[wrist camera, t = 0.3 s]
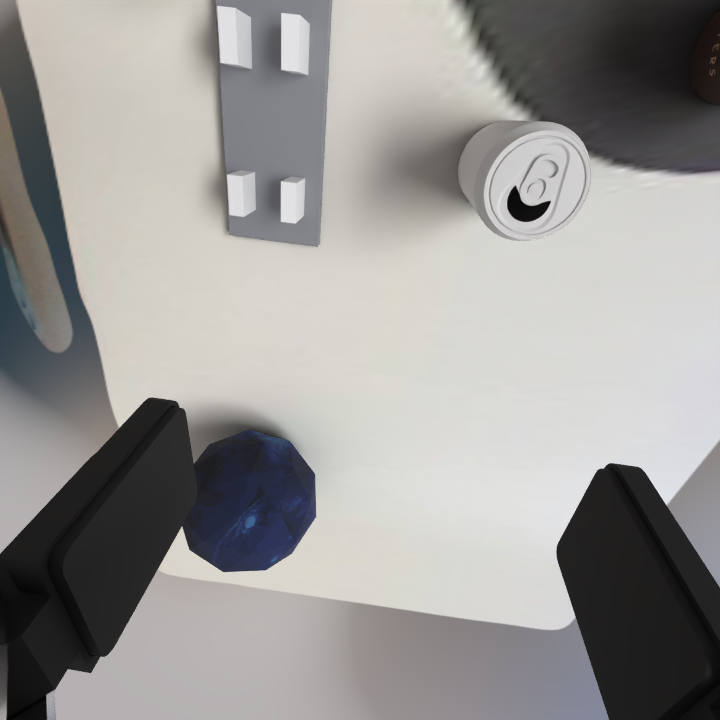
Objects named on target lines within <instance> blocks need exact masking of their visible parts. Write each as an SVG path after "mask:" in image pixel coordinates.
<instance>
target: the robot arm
mask: <svg viewBox="0 0 720 720" xmlns="http://www.w3.org/2000/svg"><path fill="white" fill-rule="evenodd" d="M196 497H197V482H196V476H195V470H194V463H193V457H192V451H191V444H190V438H189V431H188V425H187V419H186V413H185V410H184V409H182V408H179V405H178V403H177V402H176V401H172V400H165V399H158V398H148V399H147V400H146V401H144V402H143V404H142V405H141V406H140V407H139V408H138V409H137V410H136V411H135V412H134V413H133V414H132V415H131V416H130V417H129V419H128V420H127V421H126V422H125V423H124V424H123V425H122V426H121V427H120V428H119V429H118V430H117V431H116V432H115V434H114V435H113V436H112V437H111V438H110V439H109V440H108V441H107V442H106V443H105V444H104V445H103V447H101V449H100V450H99V451H98V452H97V453H96V454H94V455H93V456H92V457H91V458H90V459H89V460H88V461H87V462H86V463H85V464H84V465H83V466H82V467H81V468H80V469H79V471H78V472H77V473H76V474H75V475H74V476H73V477H72V478H71V479H70V480H69V481H68V482H67V483H66V484H65V485H64V486H63V488H62V489H61V490H60V491H59V492H58V493H57V494H56V495H55V496H54V497H53V498H52V499H51V500H50V501H49V503H48V504H47V505H46V506H45V507H44V508H43V509H42V510H41V511H40V512H39V513H38V514H37V515H36V516H35V518H34V519H33V520H32V521H31V522H30V523H29V524H28V525H27V526H26V527H25V528H24V529H23V530H22V531H21V532H20V534H18V536H17V537H16V538H15V539H14V540H13V541H12V542H11V543H10V544H9V545H8V546H7V547H6V548H5V549H4V551H3V552H2V553H1V554H0V720H56V709H55V691H54V690H55V689H56V687H57V686H58V684H59V682H60V681H61V679H62V677H63V676H64V674H65V673H66V671H67V669H71V670H77V671H82V672H88V673H91V672H92V670H93V668H94V667H95V665H96V663H97V661H98V660H99V658H100V656H102V657H105V656H106V655H108V654H109V653H110V652H111V650H112V649H113V648H114V646H115V644H116V643H117V641H118V639H119V637H120V636H121V634H122V632H123V630H124V628H125V627H126V625H127V623H128V621H129V619H130V618H131V616H132V614H133V612H134V611H135V609H136V607H137V605H138V603H139V602H140V600H141V598H142V596H143V594H144V593H145V591H146V589H147V587H148V585H149V584H150V582H151V580H152V578H153V577H154V575H155V573H156V571H157V569H158V568H159V566H160V564H161V562H162V561H163V559H164V557H165V555H166V553H167V552H168V550H169V548H170V546H171V545H172V543H173V541H174V539H175V537H176V536H177V534H178V532H179V530H180V528H181V527H182V525H183V523H184V521H185V520H186V518H187V516H188V514H189V512H190V511H191V509H192V507H193V505H194V503H195V500H196ZM557 560H558V564H559V567H560V570H561V573H562V576H563V579H564V582H565V585H566V588H567V591H568V594H569V597H570V601H571V604H572V607H573V610H574V613H575V616H576V619H577V622H578V625H579V628H580V631H581V634H582V637H583V640H584V643H585V647H586V649H587V653H588V656H589V659H590V662H591V665H592V668H593V671H594V674H595V677H596V680H597V683H598V686H599V690H600V693H601V696H602V699H603V702H604V705H605V708H606V711H607V714H608V717H609V720H720V588H719V586H718V584H717V583H716V581H715V580H714V578H713V577H712V575H711V573H710V572H709V570H708V569H707V567H706V566H705V564H704V563H703V561H702V560H701V558H700V556H699V555H698V553H697V552H696V550H695V549H694V547H693V546H692V544H691V543H690V541H689V540H688V538H687V536H686V535H685V533H684V532H683V530H682V529H681V527H680V526H679V524H678V523H677V521H676V520H675V518H674V517H673V515H672V513H671V512H670V510H669V509H668V507H667V506H666V504H665V503H664V501H663V500H662V498H661V496H660V495H659V493H658V492H657V490H656V489H655V487H654V486H653V484H652V483H651V481H650V480H649V478H648V476H647V475H646V473H645V472H644V471H643V470H642V469H641V468H639V467H635V466H628V465H621V464H614V463H610V464H608V465H606V467H605V468H604V469H599V470H598V471H597V472H596V474H595V475H594V477H593V479H592V481H591V483H590V485H589V487H588V488H587V490H586V492H585V494H584V496H583V498H582V500H581V502H580V503H579V505H578V507H577V509H576V511H575V513H574V515H573V516H572V518H571V520H570V522H569V524H568V526H567V528H566V529H565V531H564V533H563V535H562V537H561V539H560V541H559V543H558V545H557Z"/></svg>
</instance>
